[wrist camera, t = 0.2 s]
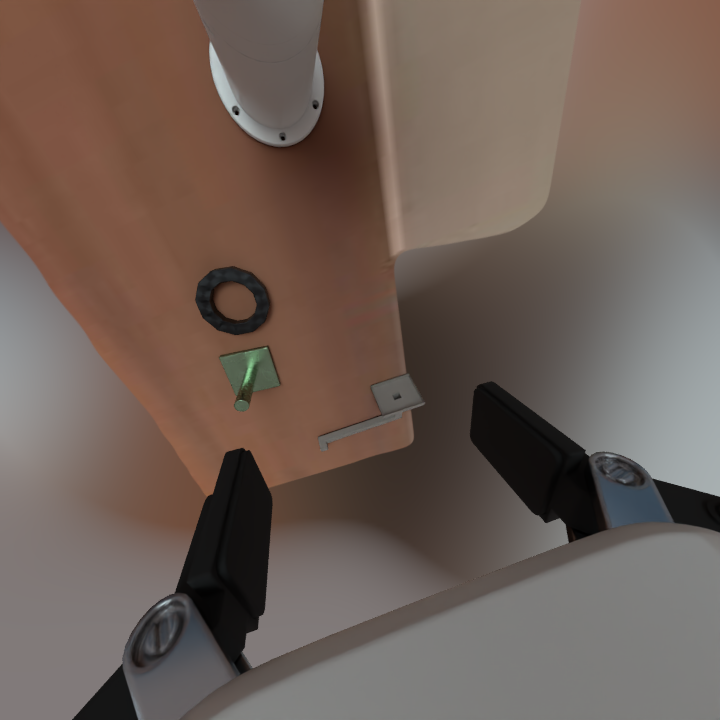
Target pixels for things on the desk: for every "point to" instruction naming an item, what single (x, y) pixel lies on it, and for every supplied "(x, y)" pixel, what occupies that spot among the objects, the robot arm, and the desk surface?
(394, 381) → the toilet paper hanger
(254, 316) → the black ring
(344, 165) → the desk surface
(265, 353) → the post
